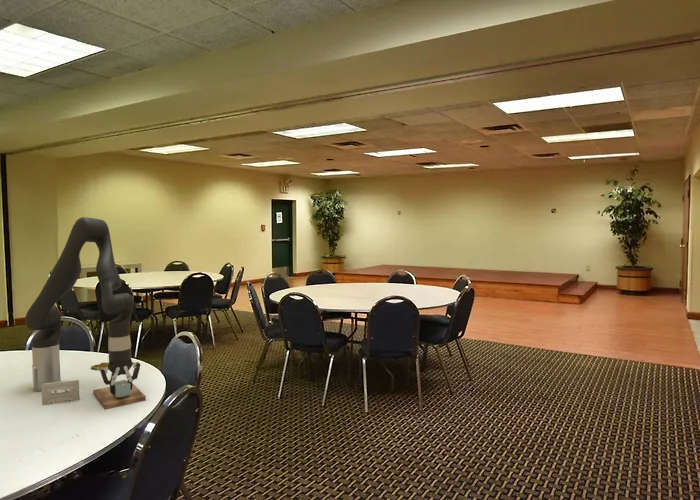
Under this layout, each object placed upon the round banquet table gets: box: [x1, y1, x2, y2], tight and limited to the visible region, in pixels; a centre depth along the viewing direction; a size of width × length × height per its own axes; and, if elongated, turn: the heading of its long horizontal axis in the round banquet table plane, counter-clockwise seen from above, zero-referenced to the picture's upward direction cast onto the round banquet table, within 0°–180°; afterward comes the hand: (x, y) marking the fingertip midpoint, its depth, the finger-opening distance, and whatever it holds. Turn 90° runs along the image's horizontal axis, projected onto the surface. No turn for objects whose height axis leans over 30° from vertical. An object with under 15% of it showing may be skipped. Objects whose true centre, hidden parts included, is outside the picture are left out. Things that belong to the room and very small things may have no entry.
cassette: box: [41, 379, 81, 406], centre depth 178 cm, size 12×2×8 cm, turn 113°
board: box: [92, 382, 147, 410], centre depth 183 cm, size 14×20×4 cm
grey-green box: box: [114, 379, 131, 398], centre depth 180 cm, size 7×5×4 cm
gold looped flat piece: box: [90, 361, 109, 371], centre depth 221 cm, size 9×5×15 cm
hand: (121, 392), depth 180 cm, fingers closed on grey-green box, 4 cm apart
